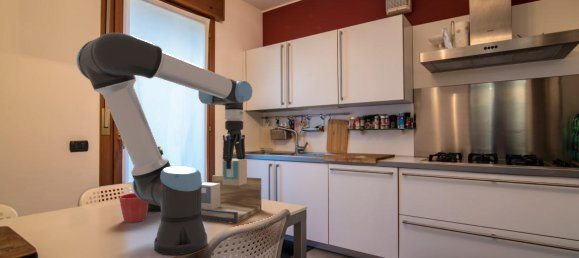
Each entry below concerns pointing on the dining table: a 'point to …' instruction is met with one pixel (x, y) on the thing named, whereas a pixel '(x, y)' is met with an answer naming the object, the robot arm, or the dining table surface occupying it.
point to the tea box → (236, 173)
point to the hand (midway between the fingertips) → (234, 175)
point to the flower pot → (133, 208)
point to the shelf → (235, 201)
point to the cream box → (210, 195)
